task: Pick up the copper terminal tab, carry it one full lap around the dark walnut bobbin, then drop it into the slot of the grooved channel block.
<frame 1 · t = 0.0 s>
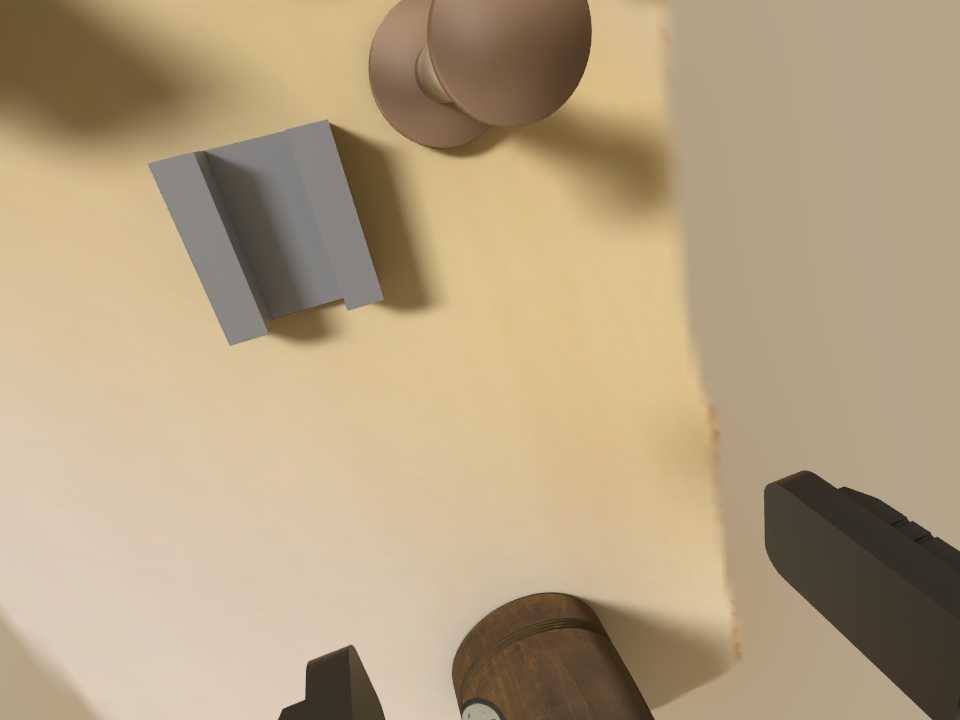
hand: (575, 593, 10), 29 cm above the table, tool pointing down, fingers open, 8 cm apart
bobbin: (437, 74, 33), on the table
wooden container: (527, 653, 53), on the table
grooved channel block: (280, 227, 34), on the table
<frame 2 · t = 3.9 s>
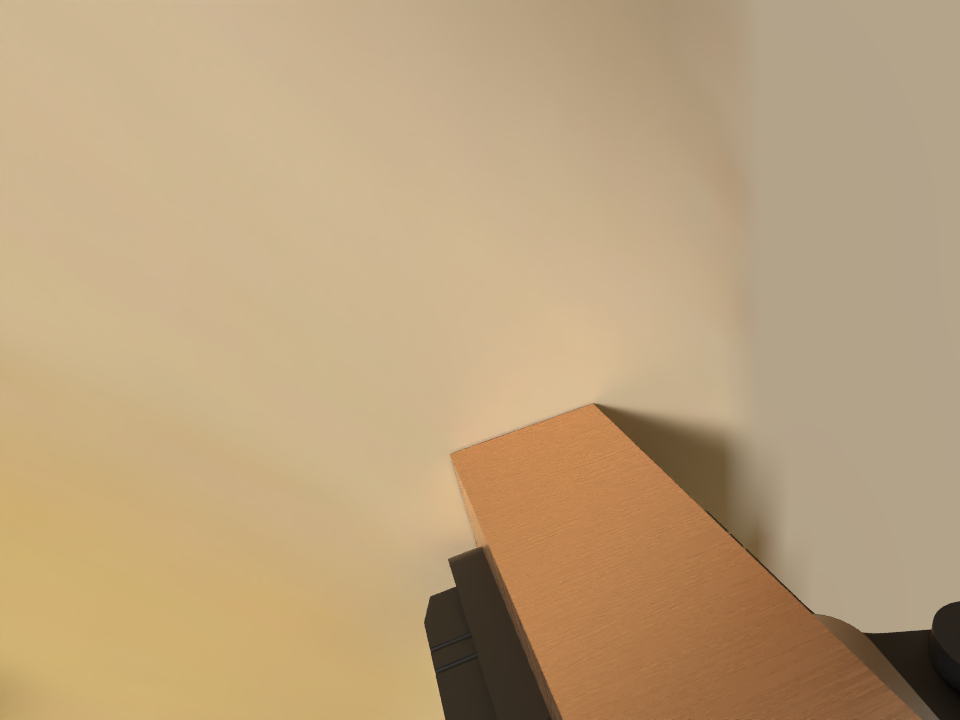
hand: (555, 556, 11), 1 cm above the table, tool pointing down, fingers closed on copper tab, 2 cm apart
copper tab: (545, 526, 12), on the table, touching gripper
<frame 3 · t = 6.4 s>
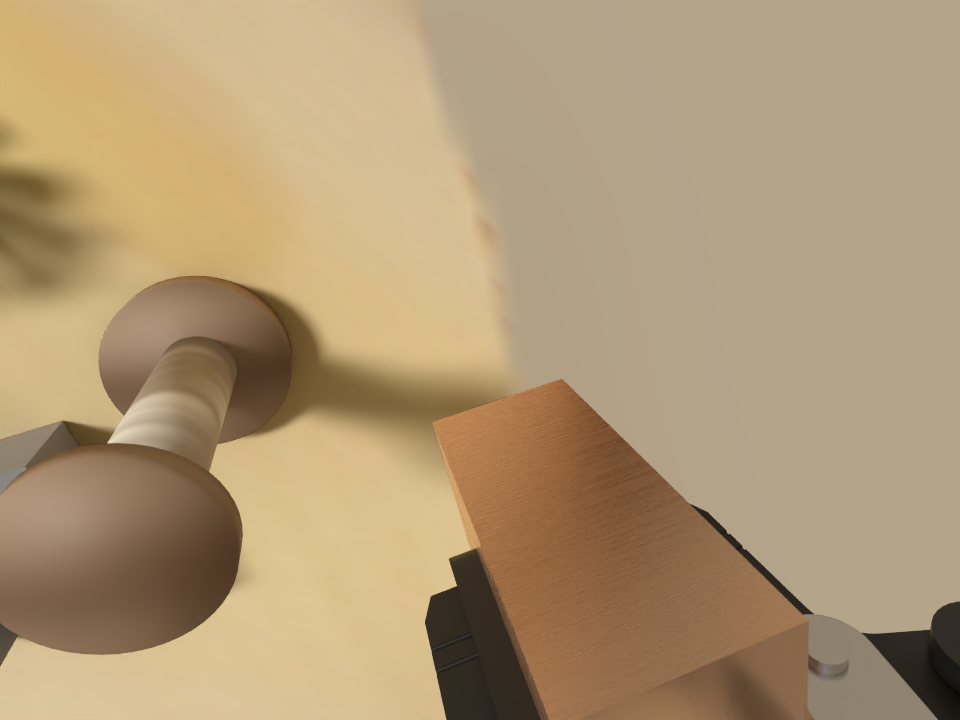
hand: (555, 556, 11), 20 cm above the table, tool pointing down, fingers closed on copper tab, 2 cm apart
bobbin: (204, 357, 27), on the table
copper tab: (520, 492, 13), point 18 cm above the table, touching gripper
grooved channel block: (20, 533, 28), on the table
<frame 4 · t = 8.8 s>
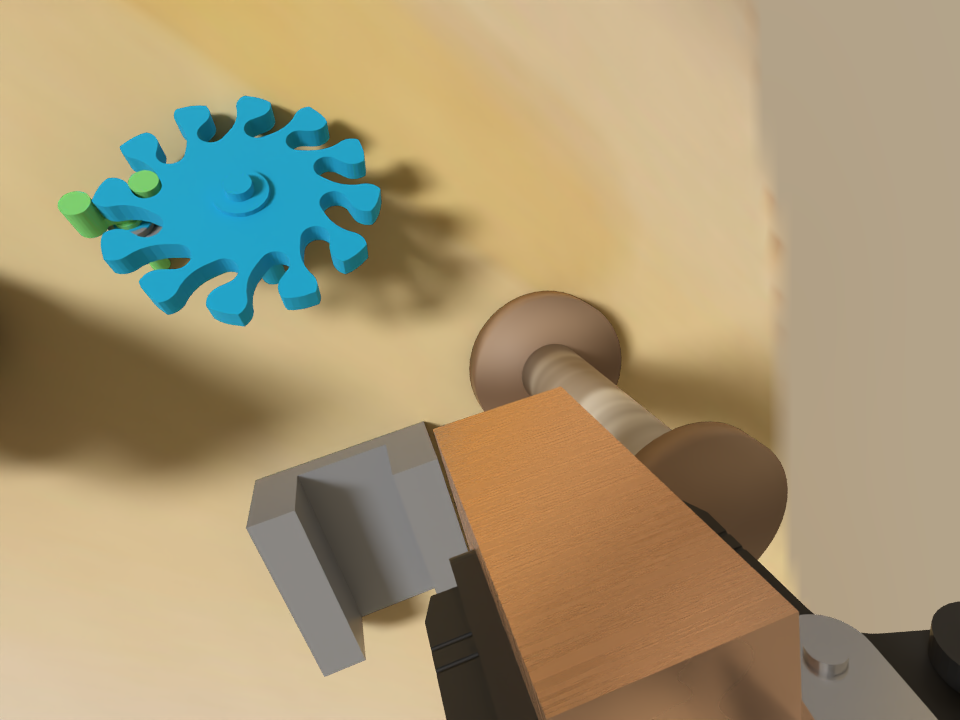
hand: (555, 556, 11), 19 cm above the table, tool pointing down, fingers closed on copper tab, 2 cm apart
bobbin: (540, 363, 31), on the table
copper tab: (521, 499, 13), point 16 cm above the table, touching gripper
grooved channel block: (371, 524, 31), on the table
gear: (242, 196, 25), on the table
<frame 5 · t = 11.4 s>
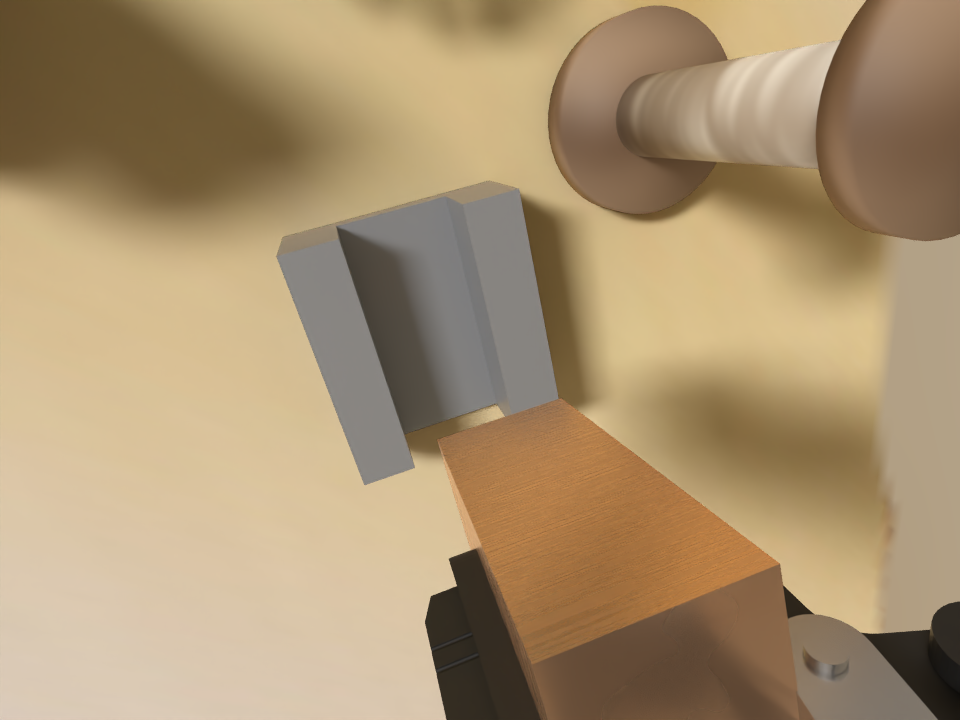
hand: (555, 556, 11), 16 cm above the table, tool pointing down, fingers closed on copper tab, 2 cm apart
bobbin: (632, 117, 25), on the table
copper tab: (525, 513, 13), point 14 cm above the table, tilted 10°, touching gripper
grooved channel block: (420, 316, 26), on the table
when the fingers open (6 cm above the table, at t = 13.4 s): copper tab drops 3 cm, resting on grooved channel block.
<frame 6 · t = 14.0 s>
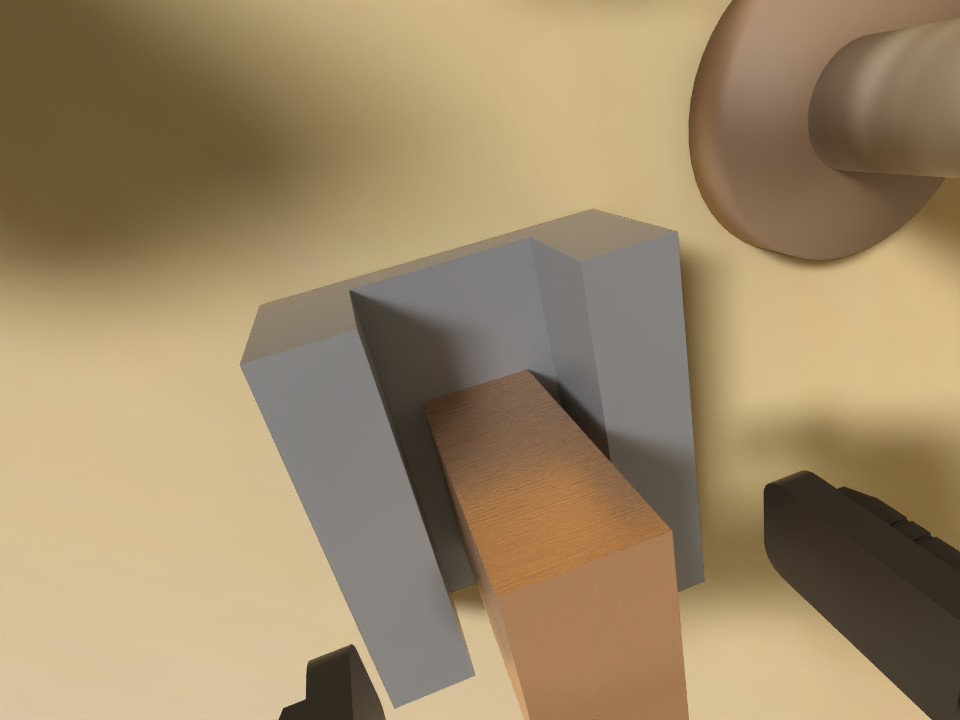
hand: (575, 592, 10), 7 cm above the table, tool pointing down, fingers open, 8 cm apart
bobbin: (814, 107, 16), on the table
copper tab: (493, 461, 16), point 1 cm above the table, touching grooved channel block
grooved channel block: (477, 417, 17), on the table
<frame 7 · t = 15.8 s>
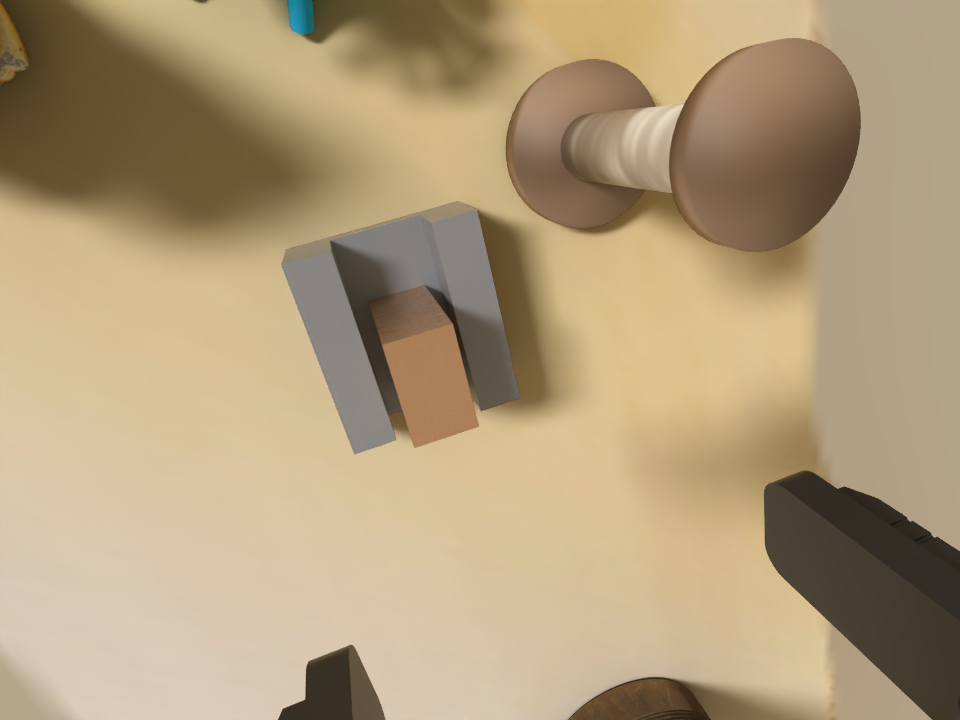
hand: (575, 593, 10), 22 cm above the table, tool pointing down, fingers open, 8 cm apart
bobbin: (577, 147, 30), on the table
copper tab: (409, 336, 30), point 1 cm above the table, touching grooved channel block
grooved channel block: (401, 315, 31), on the table
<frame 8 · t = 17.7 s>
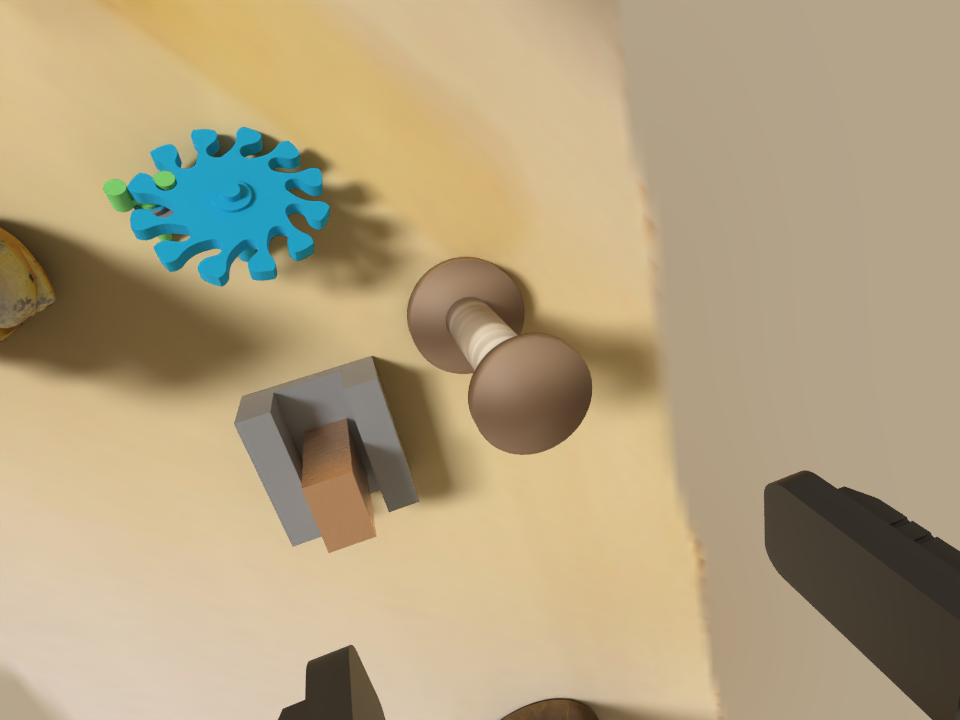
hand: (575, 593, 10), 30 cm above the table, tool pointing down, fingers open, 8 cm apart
bobbin: (463, 313, 40), on the table
copper tab: (336, 454, 40), point 1 cm above the table, touching grooved channel block
grooved channel block: (332, 436, 41), on the table
gear: (232, 195, 34), on the table
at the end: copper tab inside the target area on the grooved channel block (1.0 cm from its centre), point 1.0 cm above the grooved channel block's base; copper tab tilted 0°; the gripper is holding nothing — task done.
